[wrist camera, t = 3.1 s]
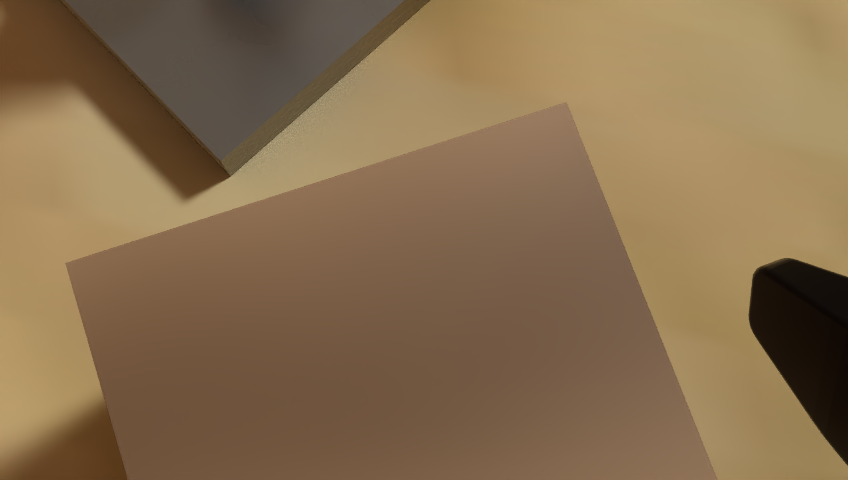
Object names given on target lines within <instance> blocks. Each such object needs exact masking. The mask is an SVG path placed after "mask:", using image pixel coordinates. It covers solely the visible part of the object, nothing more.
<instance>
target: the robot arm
mask: <svg viewBox="0 0 848 480" xmlns="http://www.w3.org/2000/svg"><path fill="white" fill-rule="evenodd" d="M749 323H750V326H751V329H752V331H753V334H754V335H755V337H756V338H757V340H758V341H759V343H760V344H761V346H762V347H763V349H764V350H765V352H766V353H767V355H768V356H769V358H770V359H771V361H772V362H773V363H774V365H775V366H776V368H777V369H778V371H779V372H780V374H781V375H782V377H783V378H784V380H785V381H786V383H787V384H788V386H789V387H790V388H791V390H792V391H793V393H794V394H795V396H796V397H797V399H798V400H799V402H800V403H801V405H802V406H803V408H804V409H805V411H806V412H807V413H808V415H809V416H810V418H811V419H812V421H813V422H814V424H815V425H816V426H817V428H818V429H819V430H820V432H821V433H822V435H823V436H824V437H825V439H826V440H827V441H828V442H829V444H830V445H831V446H832V447H833V448H834V450H835V451H836V452H837V453H838V455H839V456H840V457H841V458H842V459H843V461H844V462H845V463H846V464H847V465H848V277H846V276H843V275H840V274H837V273H834V272H831V271H828V270H825V269H822V268H819V267H816V266H814V265H811V264H808V263H805V262H802V261H799V260H795V259H791V258H784V259H780V260H777V261H774V262H772V263H769V264H766V265H763V266H761V267H759V268H757V269H756V271H755V272H754V274H753V278H752V288H751V297H750V307H749Z"/></svg>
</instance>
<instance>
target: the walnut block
mask: <svg viewBox="0 0 848 480" xmlns="http://www.w3.org/2000/svg"><path fill="white" fill-rule="evenodd" d="M66 267H67V270H68V274H69V277H70V281H71V284H72V288H73V291H74V294H75V298H76V301H77V305H78V308H79V312H80V315H81V319H82V322H83V326H84V329H85V333H86V336H87V340H88V343H89V347H90V350H91V354H92V357H93V361H94V364H95V367H96V371H97V374H98V378H99V381H100V385H101V388H102V392H103V395H104V399H105V402H106V406H107V409H108V413H109V416H110V420H111V423H112V427H113V430H114V434H115V437H116V440H117V444H118V447H119V451H120V454H121V458H122V461H123V465H124V468H125V472H126V475H127V479H128V480H717V477H716V475H715V472H714V470H713V467H712V465H711V462H710V460H709V457H708V455H707V452H706V450H705V447H704V445H703V442H702V440H701V437H700V435H699V432H698V430H697V427H696V425H695V422H694V420H693V417H692V415H691V412H690V410H689V407H688V405H687V402H686V400H685V397H684V395H683V392H682V390H681V387H680V385H679V382H678V380H677V377H676V375H675V372H674V370H673V367H672V365H671V362H670V360H669V357H668V355H667V352H666V350H665V347H664V345H663V342H662V340H661V337H660V335H659V332H658V330H657V327H656V325H655V322H654V320H653V317H652V315H651V312H650V310H649V307H648V305H647V302H646V300H645V297H644V295H643V292H642V290H641V287H640V285H639V282H638V280H637V277H636V275H635V272H634V270H633V267H632V265H631V262H630V260H629V257H628V255H627V252H626V250H625V247H624V245H623V242H622V240H621V237H620V235H619V232H618V230H617V227H616V225H615V222H614V220H613V217H612V215H611V212H610V210H609V207H608V205H607V202H606V200H605V197H604V195H603V192H602V190H601V187H600V185H599V182H598V180H597V177H596V175H595V172H594V170H593V167H592V165H591V162H590V160H589V157H588V155H587V152H586V150H585V147H584V145H583V142H582V140H581V137H580V135H579V132H578V130H577V127H576V125H575V122H574V120H573V117H572V115H571V112H570V110H569V107H568V105H567V102H566V103H562V104H559V105H556V106H553V107H550V108H547V109H544V110H541V111H538V112H534V113H531V114H528V115H525V116H522V117H519V118H516V119H513V120H510V121H506V122H503V123H500V124H497V125H494V126H491V127H488V128H485V129H481V130H478V131H475V132H472V133H469V134H466V135H463V136H460V137H457V138H453V139H450V140H447V141H444V142H441V143H438V144H435V145H432V146H429V147H425V148H422V149H419V150H416V151H413V152H410V153H407V154H404V155H401V156H397V157H394V158H391V159H388V160H385V161H382V162H379V163H376V164H373V165H369V166H366V167H363V168H360V169H357V170H354V171H351V172H348V173H345V174H341V175H338V176H335V177H332V178H329V179H326V180H323V181H320V182H317V183H313V184H310V185H307V186H304V187H301V188H298V189H295V190H292V191H289V192H285V193H282V194H279V195H276V196H273V197H270V198H267V199H264V200H261V201H257V202H254V203H251V204H248V205H245V206H242V207H239V208H236V209H233V210H229V211H226V212H223V213H220V214H217V215H214V216H211V217H208V218H204V219H201V220H198V221H195V222H192V223H189V224H186V225H183V226H180V227H176V228H173V229H170V230H167V231H164V232H161V233H158V234H155V235H152V236H148V237H145V238H142V239H139V240H136V241H133V242H130V243H127V244H124V245H120V246H117V247H114V248H111V249H108V250H105V251H102V252H99V253H96V254H92V255H89V256H86V257H83V258H80V259H77V260H74V261H71V262H68V263H66Z"/></svg>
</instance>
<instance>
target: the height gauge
mask: <svg viewBox="0 0 848 480" xmlns="http://www.w3.org/2000/svg"><path fill="white" fill-rule="evenodd" d="M60 1H61V2H62V3H63V4H64V5H65V6H66V7H67V8H68V9H69V10H70V11H71V12H72V13H73V14H74V16H75V17H76V18H77V19H78V20H79V21H80V22H81V23H82V24H83V25H84V26H85V27H86V28H87V29H88V30H89V31H90V32H91V33H92V34H93V35H94V36H95V37H96V38H97V39H98V40H99V41H100V42H101V43H102V44H103V45H104V46H105V47H106V49H107V50H108V51H109V52H110V53H111V54H112V55H113V56H114V57H115V58H116V59H117V60H118V61H119V62H120V63H121V64H122V65H123V66H124V67H125V68H126V69H127V70H128V71H129V72H130V73H131V74H132V75H133V76H134V77H135V78H136V79H137V80H138V81H139V83H140V84H141V85H142V86H143V87H144V88H145V89H146V90H147V91H148V92H149V93H150V94H151V95H152V96H153V97H154V98H155V99H156V100H157V101H158V102H159V103H160V104H161V105H162V106H163V107H164V108H165V109H166V110H167V111H168V112H169V113H170V114H171V116H172V117H173V118H174V119H175V120H176V121H177V122H178V123H179V124H180V125H181V126H182V127H183V128H184V129H185V130H186V131H187V132H188V133H189V134H190V135H191V136H192V137H193V138H194V139H195V140H196V141H197V142H198V143H199V144H200V145H201V146H202V147H203V148H204V150H205V151H206V152H207V153H208V154H209V155H210V156H211V157H212V158H213V159H214V160H215V161H216V162H217V163H218V164H219V165H220V166H221V167H222V168H223V169H224V170H225V171H226V172H227V173H228V174H229V175H230V176H231V175H232V174H233V173H235V172H236V171H237V170H238V169H239V168H240V167H241V166H243V165H244V164H245V163H246V162H247V161H248V160H249V159H250V158H252V157H253V156H254V155H255V154H256V153H257V152H258V151H260V150H261V149H262V148H263V147H264V146H265V145H266V144H267V143H269V142H270V141H271V140H272V139H273V138H274V137H275V136H277V135H278V134H279V133H280V132H281V131H282V130H283V129H284V128H286V127H287V126H288V125H289V124H290V123H291V122H292V121H294V120H295V119H296V118H297V117H298V116H299V115H300V114H301V113H303V112H304V111H305V110H306V109H307V108H308V107H309V106H311V105H312V104H313V103H314V102H315V101H316V100H317V99H318V98H320V97H321V96H322V95H323V94H324V93H325V92H326V91H328V90H329V89H330V88H331V87H332V86H333V85H334V84H335V83H337V82H338V81H339V80H340V79H341V78H342V77H343V76H345V75H346V74H347V73H348V72H349V71H350V70H351V69H352V68H354V67H355V66H356V65H357V64H358V63H359V62H360V61H362V60H363V59H364V58H365V57H366V56H367V55H368V54H369V53H371V52H372V51H373V50H374V49H375V48H376V47H377V46H378V45H380V44H381V43H382V42H383V41H384V40H385V39H386V38H388V37H389V36H390V35H391V34H392V33H393V32H394V31H395V30H397V29H398V28H399V27H400V26H401V25H402V24H403V23H405V22H406V21H407V20H408V19H409V18H410V17H411V16H412V15H414V14H415V13H416V12H417V11H418V10H419V9H420V8H422V7H423V6H424V5H425V4H426V3H427V2H428V1H429V0H60Z"/></svg>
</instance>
